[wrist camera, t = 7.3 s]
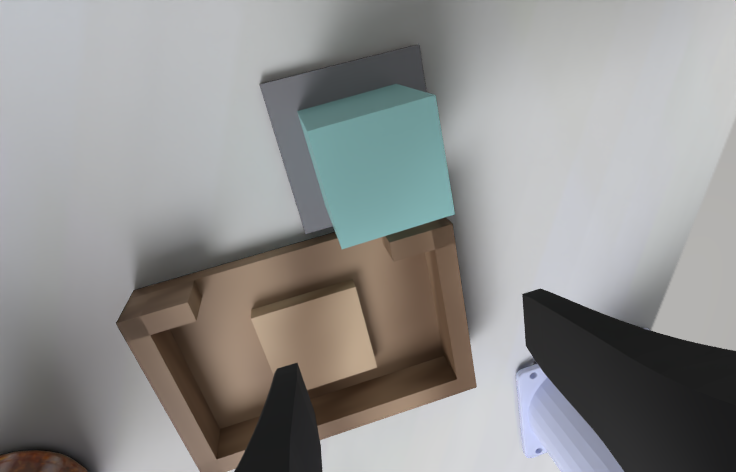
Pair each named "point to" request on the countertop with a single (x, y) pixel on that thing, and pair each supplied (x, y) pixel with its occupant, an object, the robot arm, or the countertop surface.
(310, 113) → the teal block
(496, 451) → the countertop surface
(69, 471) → the sauce bottle
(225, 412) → the parts box
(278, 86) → the rubber mat
